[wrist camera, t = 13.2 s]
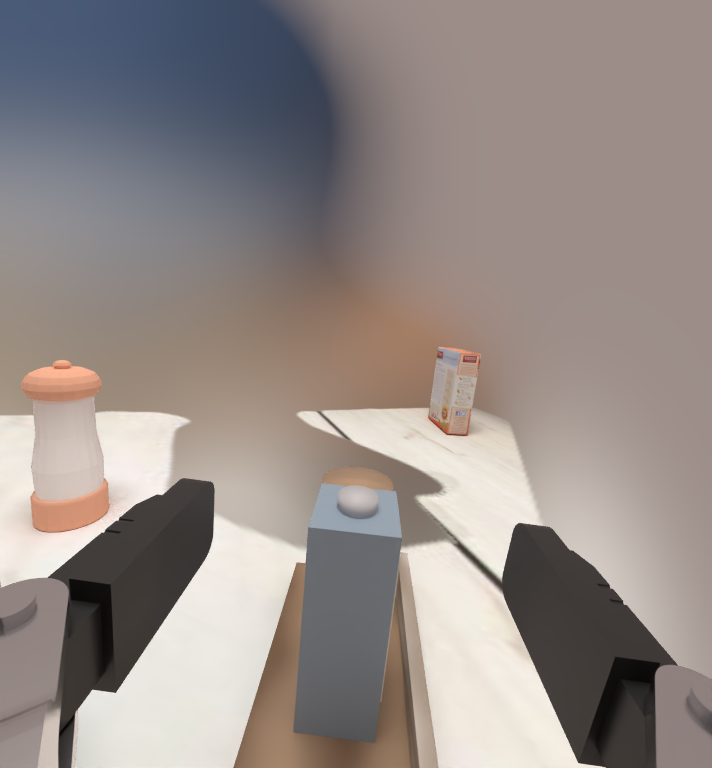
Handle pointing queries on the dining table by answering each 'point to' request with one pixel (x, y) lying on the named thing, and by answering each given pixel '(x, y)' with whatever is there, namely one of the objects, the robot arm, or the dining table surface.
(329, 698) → the tea tin
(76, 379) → the salt shaker
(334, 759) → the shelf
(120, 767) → the dining table surface
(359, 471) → the jar
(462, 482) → the dining table surface
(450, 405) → the cracker box
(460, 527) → the dining table surface
